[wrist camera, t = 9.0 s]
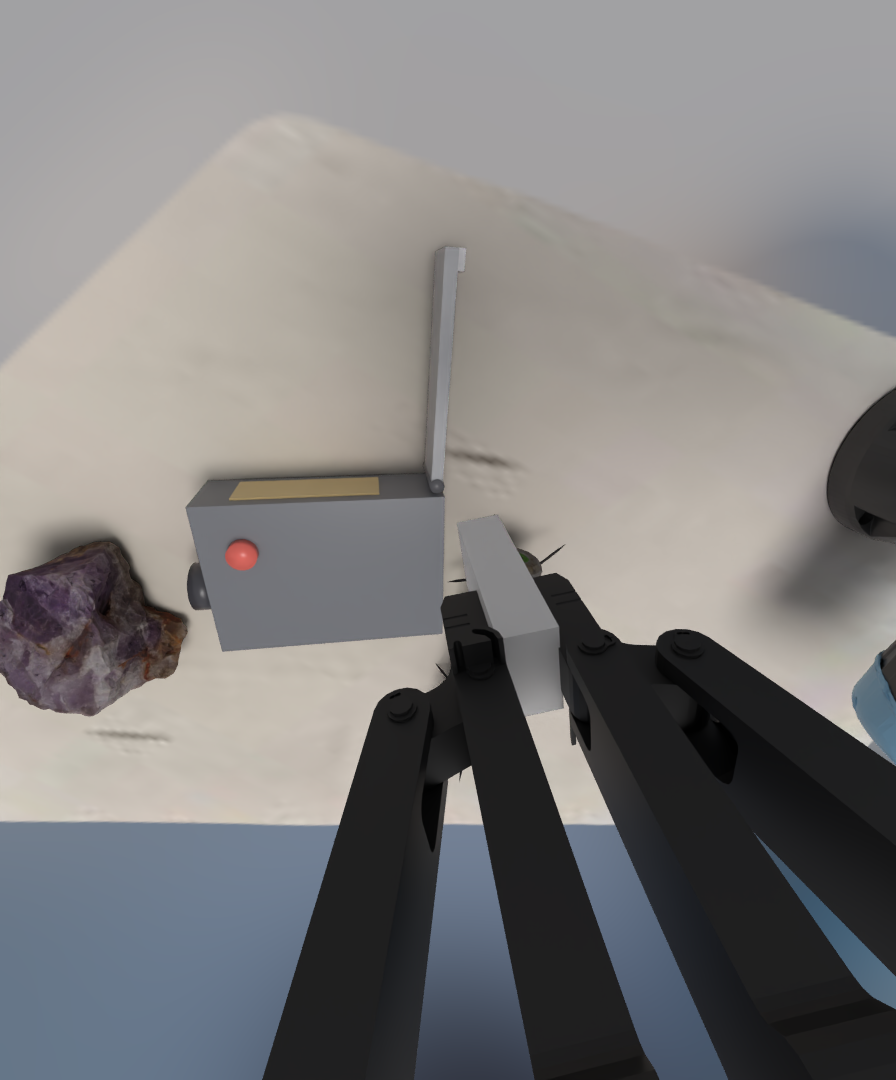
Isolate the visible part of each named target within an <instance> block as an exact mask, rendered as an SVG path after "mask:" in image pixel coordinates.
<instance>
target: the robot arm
mask: <svg viewBox="0 0 896 1080" xmlns="http://www.w3.org/2000/svg"><path fill="white" fill-rule="evenodd" d="M828 501H829V505H830V508H831V511H832V513H833V515H834V516H835V518H836V519H837V520H838V521H839V522H840V523H841V524H842V525H844V526H846V527H847V528H850V529H852V530H854V531H856V532H858V533H860V534H862V535H864V536H866V537H869V538H872V539H875V540H879V541H885V542H891V543H896V389H895V390H894V391H892V392H891V393H889V394H888V395H887V396H885V397H884V398H883V399H882V400H880V401H879V402H878V403H877V404H876V405H874V406H873V407H872V408H871V409H870V410H869V411H868V412H867V413H866V414H865V415H864V416H863V417H862V418H861V420H860V421H859V422H858V423H857V424H856V426H855V427H854V428H853V429H852V431H851V432H850V434H849V435H848V436H847V438H846V440H845V441H844V443H843V444H842V446H841V448H840V450H839V452H838V454H837V456H836V458H835V461H834V463H833V466H832V469H831V473H830V477H829V482H828ZM457 526H458V533H459V539H460V545H461V551H462V557H463V563H464V569H465V576H466V582H467V587H468V590H469V592H466V593H461V594H456V595H451V596H446V597H445V598H444V600H443V603H442V605H441V607H440V609H441V614H442V619H443V624H444V629H445V634H446V639H447V644H448V650H449V655H450V660H451V670H450V674H449V675H448V677H447V678H446V680H445V681H444V682H443V683H442V684H441V685H439V686H438V687H436V688H435V689H433V690H431V691H429V692H427V693H423V692H422V691H420V690H418V689H413V688H403V689H397V690H395V691H393V692H391V693H389V694H387V695H386V696H384V697H383V698H382V699H381V700H380V701H379V702H378V704H377V706H376V708H375V710H374V713H373V716H372V719H371V722H370V726H369V729H368V732H367V736H366V739H365V742H364V746H363V749H362V752H361V755H360V759H359V762H358V765H357V769H356V772H355V775H354V779H353V782H352V785H351V788H350V792H349V795H348V798H347V802H346V805H345V808H344V812H343V815H342V818H341V822H340V825H339V829H338V831H337V835H336V838H335V841H334V845H333V848H332V851H331V855H330V858H329V861H328V864H327V868H326V871H325V874H324V878H323V881H322V884H321V888H320V891H319V894H318V898H317V901H316V904H315V908H314V911H313V914H312V917H311V921H310V924H309V927H308V930H307V934H306V937H305V941H304V944H303V947H302V950H301V954H300V957H299V960H298V964H297V967H296V971H295V973H294V977H293V980H292V984H291V987H290V990H289V993H288V997H287V1000H286V1003H285V1007H284V1010H283V1013H282V1017H281V1020H280V1023H279V1026H278V1030H277V1033H276V1036H275V1040H274V1043H273V1047H272V1050H271V1053H270V1056H269V1059H268V1063H267V1066H266V1069H265V1073H264V1076H263V1079H262V1080H414V1074H415V1065H416V1056H417V1048H418V1039H419V1030H420V1022H421V1013H422V1004H423V995H424V986H425V977H426V969H427V961H428V952H429V943H430V934H431V925H432V917H433V908H434V900H435V891H436V882H437V873H438V864H439V855H440V847H441V838H442V830H443V821H444V812H445V804H446V795H447V786H448V779H449V778H450V777H452V776H454V775H455V774H457V773H459V772H461V771H462V770H464V769H466V768H468V767H469V766H471V765H472V770H473V775H474V780H475V785H476V790H477V795H478V800H479V805H480V810H481V815H482V820H483V825H484V830H485V835H486V840H487V845H488V850H489V855H490V860H491V865H492V869H493V875H494V880H495V885H496V889H497V895H498V900H499V904H500V909H501V914H502V919H503V924H504V929H505V934H506V939H507V944H508V949H509V954H510V959H511V964H512V969H513V974H514V979H515V984H516V989H517V994H518V999H519V1004H520V1009H521V1014H522V1019H523V1024H524V1029H525V1034H526V1039H527V1044H528V1048H529V1054H530V1059H531V1064H532V1068H533V1073H534V1079H535V1080H659V1078H658V1076H657V1073H656V1071H655V1069H654V1067H653V1066H652V1064H651V1063H650V1061H649V1060H648V1058H647V1057H646V1055H645V1053H644V1051H643V1049H642V1047H641V1044H640V1042H639V1039H638V1037H637V1034H636V1031H635V1028H634V1026H633V1023H632V1020H631V1017H630V1014H629V1011H628V1008H627V1006H626V1003H625V1000H624V997H623V994H622V991H621V989H620V986H619V983H618V980H617V977H616V974H615V971H614V969H613V966H612V963H611V960H610V957H609V955H608V952H607V949H606V946H605V943H604V940H603V938H602V934H601V932H600V929H599V926H598V923H597V920H596V917H595V915H594V912H593V909H592V906H591V903H590V900H589V897H588V895H587V892H586V889H585V886H584V883H583V880H582V878H581V875H580V872H579V869H578V866H577V863H576V860H575V858H574V855H573V852H572V849H571V846H570V843H569V840H568V838H567V835H566V832H565V829H564V826H563V823H562V821H561V818H560V815H559V812H558V809H557V806H556V803H555V801H554V798H553V795H552V792H551V789H550V786H549V784H548V781H547V778H546V775H545V772H544V769H543V766H542V764H541V761H540V758H539V755H538V752H537V749H536V747H535V744H534V741H533V738H532V735H531V732H530V729H529V727H528V724H527V721H526V718H525V716H530V715H535V714H539V713H544V712H548V711H553V710H558V709H562V708H564V706H563V696H564V698H565V700H566V702H567V704H568V706H569V717H570V737H571V743H572V745H576V737H577V740H578V742H579V744H580V746H581V749H582V751H583V753H584V755H585V758H586V760H587V762H588V764H589V767H590V769H591V771H592V773H593V776H594V778H595V780H596V782H597V785H598V787H599V789H600V791H601V794H602V796H603V798H604V800H605V803H606V805H607V807H608V809H609V812H610V814H611V816H612V818H613V821H614V823H615V825H616V827H617V830H618V832H619V834H620V836H621V838H622V841H623V843H624V845H625V848H626V849H627V852H628V854H629V856H630V859H631V861H632V863H633V866H634V868H635V870H636V872H637V875H638V877H639V879H640V881H641V883H642V886H643V888H644V890H645V893H646V895H647V897H648V899H649V902H650V904H651V906H652V908H653V911H654V913H655V915H656V917H657V919H658V922H659V924H660V926H661V929H662V931H663V933H664V935H665V937H666V940H667V942H668V944H669V946H670V949H671V951H672V953H673V956H674V958H675V960H676V962H677V965H678V967H679V969H680V971H681V974H682V976H683V978H684V980H685V983H686V985H687V987H688V989H689V991H690V994H691V996H692V998H693V1001H694V1003H695V1005H696V1007H697V1010H698V1012H699V1014H700V1016H701V1019H702V1020H703V1023H704V1025H705V1028H706V1030H707V1032H708V1034H709V1037H710V1039H711V1041H712V1043H713V1045H714V1048H715V1050H716V1052H717V1055H718V1057H719V1059H720V1061H721V1064H722V1066H723V1068H724V1070H725V1073H726V1075H727V1077H728V1080H896V1009H894V1008H892V1007H890V1006H888V1005H886V1004H884V1003H882V1002H881V1001H879V1000H877V999H875V998H873V997H872V996H871V995H869V993H867V992H866V991H865V990H864V989H863V988H862V987H861V985H860V984H859V983H858V981H857V980H856V979H855V978H854V976H853V975H852V973H851V972H850V971H849V969H848V968H847V966H846V965H845V963H844V962H843V961H842V959H841V958H840V957H839V955H838V953H837V952H836V950H835V949H834V948H833V946H832V945H831V944H830V942H829V941H828V939H827V938H826V936H825V935H824V933H823V932H822V930H821V929H820V928H819V926H818V925H817V923H816V922H815V920H814V919H813V917H812V916H811V915H810V913H809V912H808V910H807V909H806V907H805V906H804V904H803V903H802V902H801V900H800V899H799V897H798V896H797V894H796V893H795V892H794V890H793V889H792V887H791V886H790V884H789V883H788V882H787V880H786V879H785V877H784V876H783V874H782V873H781V871H780V870H779V869H778V867H777V866H776V864H775V863H774V861H773V860H772V859H771V857H770V856H769V854H768V853H767V851H766V850H765V848H764V847H763V846H762V844H761V843H760V841H759V840H758V838H757V837H756V835H757V836H758V837H759V838H760V839H761V840H762V841H763V842H764V843H765V844H766V845H767V846H768V847H769V848H770V849H771V850H772V851H773V852H774V853H775V854H776V855H777V856H778V857H779V858H780V859H781V860H782V861H783V862H784V863H785V864H786V865H787V866H788V867H789V868H790V869H791V871H792V872H793V873H795V875H796V876H797V877H798V878H799V879H800V880H801V881H802V882H803V883H805V885H806V886H807V887H808V888H809V889H810V890H811V891H812V892H813V893H814V894H815V895H816V896H817V897H818V898H819V899H820V900H821V901H822V902H823V903H824V904H825V905H826V906H827V907H828V908H829V909H830V910H831V911H832V912H833V913H834V914H835V915H836V916H837V917H838V918H839V919H840V920H841V921H842V922H843V923H844V924H845V925H846V926H847V927H848V928H849V929H850V930H851V931H852V932H853V933H854V934H855V935H856V936H857V937H858V939H859V940H861V941H862V943H864V944H865V946H866V947H867V948H868V949H869V950H870V951H871V952H872V953H873V954H874V955H875V956H876V957H877V958H878V959H879V960H880V961H881V962H882V963H883V964H884V965H885V966H886V967H887V968H888V969H889V970H890V971H891V972H892V973H893V974H894V975H895V976H896V766H894V765H893V764H892V763H890V762H889V761H887V760H886V759H884V758H883V757H881V756H880V755H878V754H877V753H876V752H874V751H873V750H871V749H870V748H868V747H867V746H865V745H864V744H863V743H861V742H860V741H858V740H857V739H855V738H854V737H852V736H851V735H850V734H848V733H847V732H845V731H844V730H842V729H841V728H839V727H838V726H837V725H835V724H834V723H832V722H831V721H829V720H828V719H826V718H825V717H824V716H822V715H821V714H819V713H818V712H816V711H815V710H813V709H812V708H810V707H809V706H808V705H806V704H805V703H803V702H802V701H800V700H799V699H797V698H796V697H795V696H793V695H792V694H790V693H789V692H787V691H786V690H784V689H783V688H782V687H780V686H779V685H777V684H776V683H774V682H773V681H771V680H770V679H769V678H767V677H766V676H764V675H763V674H761V673H760V672H758V671H757V670H755V669H754V668H753V667H751V666H750V665H748V664H747V663H745V662H744V661H742V660H741V659H740V658H738V657H737V656H735V655H734V654H732V653H731V652H729V651H728V650H727V649H725V648H724V647H722V646H721V645H719V644H718V643H716V642H715V641H714V640H712V639H711V638H709V637H707V636H705V635H703V634H701V633H699V632H696V631H692V630H688V629H674V630H670V631H666V632H665V633H663V634H662V635H660V636H659V638H658V640H657V642H656V645H632V644H625V643H622V642H621V641H620V640H619V639H618V638H617V637H616V636H615V635H614V634H612V633H610V632H608V631H606V630H603V629H601V628H600V627H599V625H598V624H597V622H596V621H595V619H594V618H593V616H592V615H591V613H590V612H589V610H588V609H587V607H586V606H585V604H584V603H583V601H581V598H580V597H579V595H578V594H577V592H575V589H574V588H573V586H572V585H571V583H570V582H569V580H567V579H565V578H564V577H562V576H560V575H559V574H557V573H553V574H548V575H543V576H538V577H533V578H532V576H531V574H530V573H529V571H528V569H527V567H526V565H525V563H524V562H523V560H522V558H521V556H520V554H519V552H518V551H517V549H516V547H515V545H514V543H513V541H512V540H511V538H510V536H509V534H508V532H507V530H506V529H505V527H504V525H503V523H502V521H501V519H500V518H499V516H498V515H493V516H488V517H483V518H478V519H473V520H468V521H463V522H458V523H457ZM852 702H853V707H854V709H855V711H856V714H857V717H858V719H859V721H860V722H861V724H862V726H863V727H864V729H865V730H866V731H867V733H868V734H869V735H870V737H871V738H872V739H873V740H874V742H875V743H876V744H877V745H878V746H879V748H880V749H881V750H882V751H883V752H884V753H885V754H886V755H887V756H888V757H889V758H890V759H891V761H892V762H893V763H894V764H895V765H896V640H895V641H894V642H893V643H892V644H891V645H890V646H889V647H888V648H887V649H886V650H883V651H882V652H880V653H879V654H878V655H877V656H876V658H875V662H874V664H873V665H872V666H871V667H870V668H869V670H868V671H867V672H866V673H865V674H864V675H863V677H862V678H861V679H860V680H859V681H858V682H857V683H856V685H855V686H854V689H853V691H852ZM753 832H754V833H755V834H756V835H755V834H754V833H753Z"/></svg>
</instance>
